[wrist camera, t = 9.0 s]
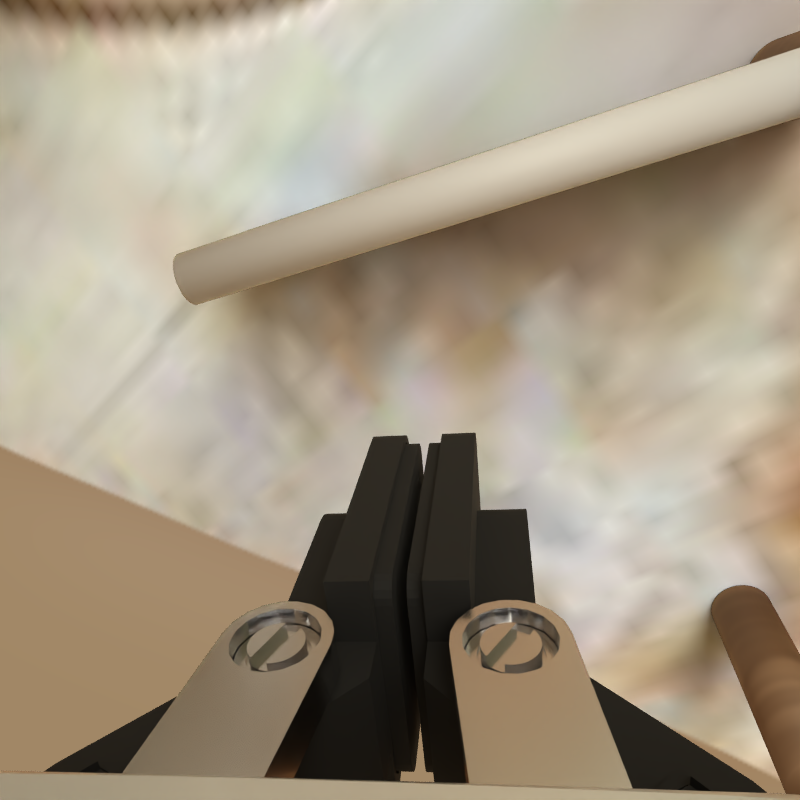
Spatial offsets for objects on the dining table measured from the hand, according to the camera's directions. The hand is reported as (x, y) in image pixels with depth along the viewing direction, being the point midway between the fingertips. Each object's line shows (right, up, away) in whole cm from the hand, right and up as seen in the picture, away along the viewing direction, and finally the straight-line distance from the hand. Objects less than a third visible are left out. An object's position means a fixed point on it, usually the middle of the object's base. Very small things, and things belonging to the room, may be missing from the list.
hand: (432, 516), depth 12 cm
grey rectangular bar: (+2, +10, +13) cm, 17 cm away
